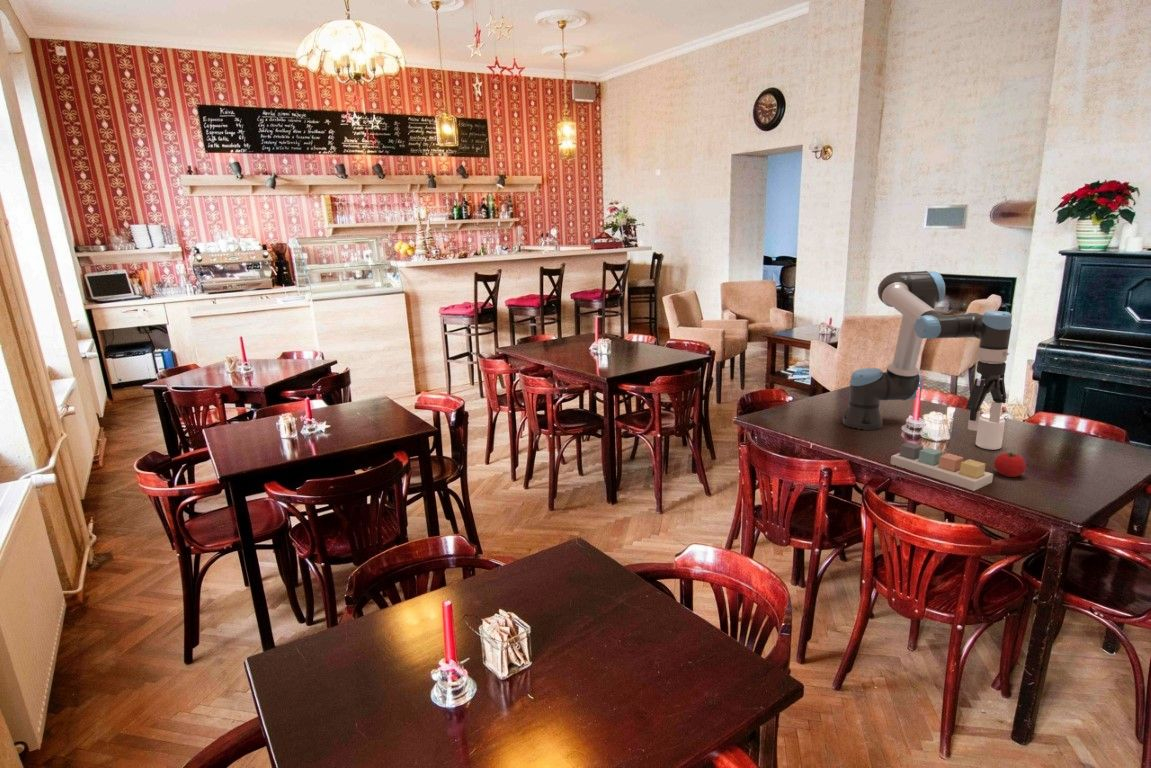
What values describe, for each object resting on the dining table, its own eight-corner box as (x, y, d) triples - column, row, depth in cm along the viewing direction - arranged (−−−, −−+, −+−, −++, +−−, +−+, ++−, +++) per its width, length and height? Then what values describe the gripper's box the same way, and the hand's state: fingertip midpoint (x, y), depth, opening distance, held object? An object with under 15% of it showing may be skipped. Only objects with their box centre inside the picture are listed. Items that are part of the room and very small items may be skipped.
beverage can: (993, 443, 237) (998, 412, 234) (1005, 450, 230) (1010, 419, 227) (971, 443, 238) (975, 412, 235) (982, 450, 230) (986, 419, 227)
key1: (899, 456, 221) (900, 445, 220) (907, 453, 224) (909, 442, 222) (913, 461, 217) (914, 449, 216) (921, 457, 219) (923, 446, 218)
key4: (959, 475, 204) (960, 462, 203) (967, 471, 207) (969, 459, 206) (975, 480, 200) (977, 467, 199) (983, 476, 203) (985, 463, 201)
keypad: (890, 463, 221) (891, 455, 220) (908, 457, 227) (909, 449, 226) (973, 490, 198) (975, 482, 197) (991, 482, 204) (993, 473, 203)
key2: (918, 462, 215) (919, 450, 214) (926, 459, 218) (928, 447, 217) (933, 467, 211) (934, 454, 210) (941, 463, 214) (942, 451, 213)
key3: (938, 468, 210) (939, 456, 209) (946, 465, 212) (948, 453, 211) (953, 473, 206) (955, 460, 205) (961, 469, 208) (963, 457, 207)
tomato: (1013, 482, 203) (1016, 459, 201) (986, 472, 211) (989, 450, 209) (1030, 477, 207) (1034, 454, 205) (1003, 468, 214) (1006, 446, 212)
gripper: (984, 368, 187) (976, 436, 192) (1024, 357, 200) (1015, 421, 205) (958, 364, 193) (950, 430, 198) (998, 354, 206) (990, 416, 211)
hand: (983, 425), depth 202 cm, fingers open, 13 cm apart
